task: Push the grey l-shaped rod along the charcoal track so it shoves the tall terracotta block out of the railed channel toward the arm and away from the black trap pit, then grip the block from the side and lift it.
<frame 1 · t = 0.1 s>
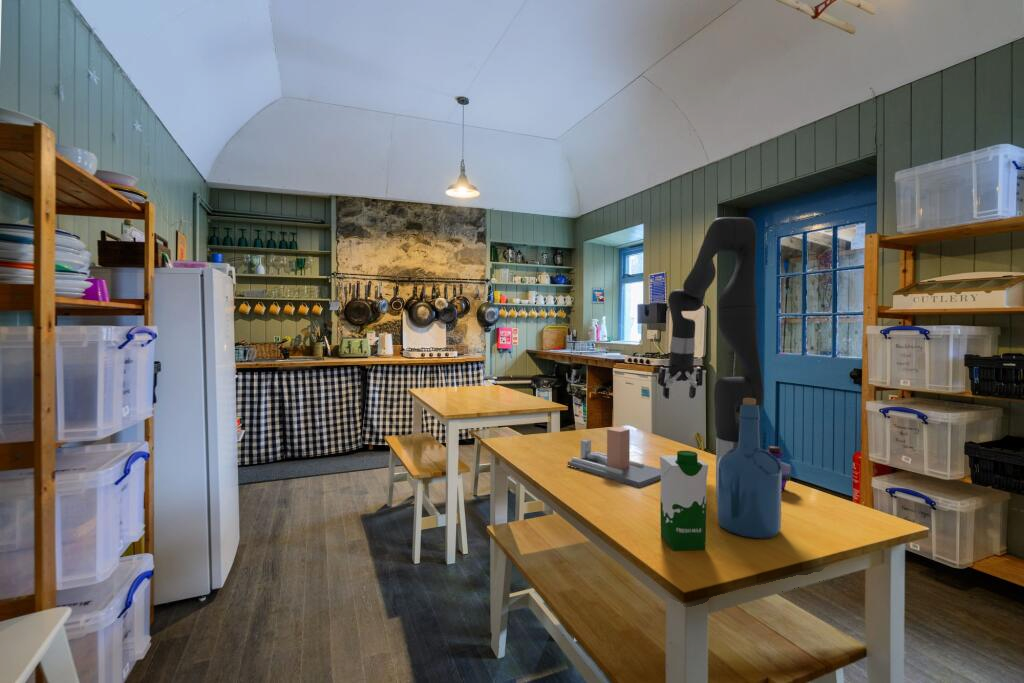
hand: (679, 397, 160), 22 cm above the table, tool pointing down, fingers open, 8 cm apart
grey l-shaped rod: (596, 451, 160), point 5 cm above the table, slide at 0.0 cm
block: (618, 466, 153), point 1 cm above the table, touching track
track: (616, 470, 154), on the table
potion bottle: (774, 489, 137), on the table
wine bottle: (748, 529, 110), on the table
milk carton: (682, 543, 103), on the table
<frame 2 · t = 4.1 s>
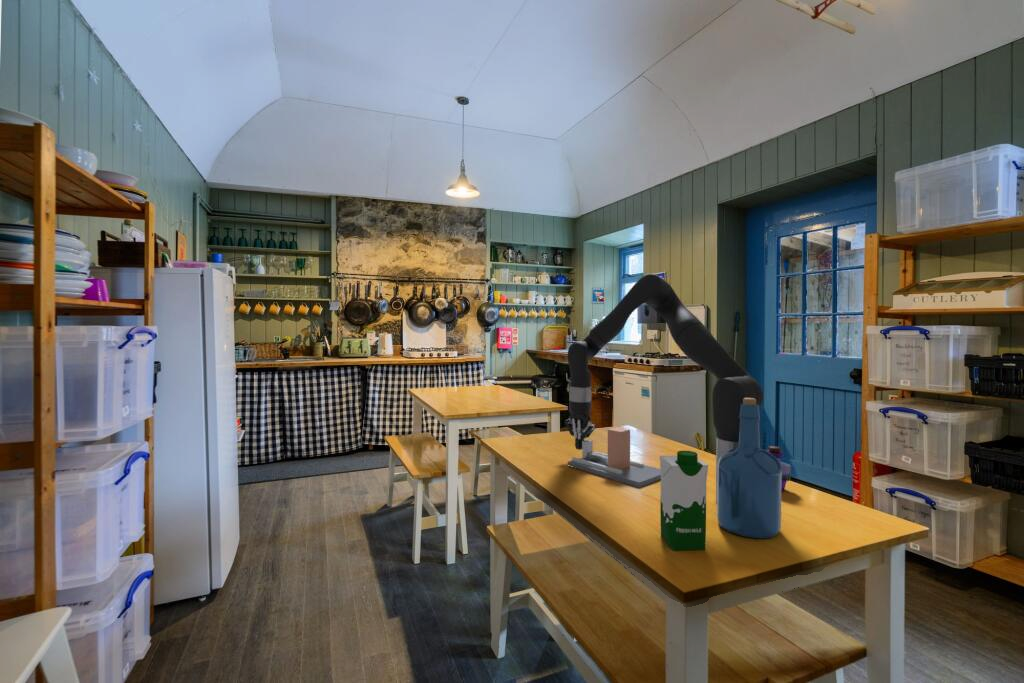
hand: (579, 448, 166), 4 cm above the table, tool pointing down, fingers closed
grey l-shaped rod: (598, 451, 159), point 5 cm above the table, slide at 0.7 cm, touching gripper
block: (618, 466, 153), point 2 cm above the table
everything else where it was.
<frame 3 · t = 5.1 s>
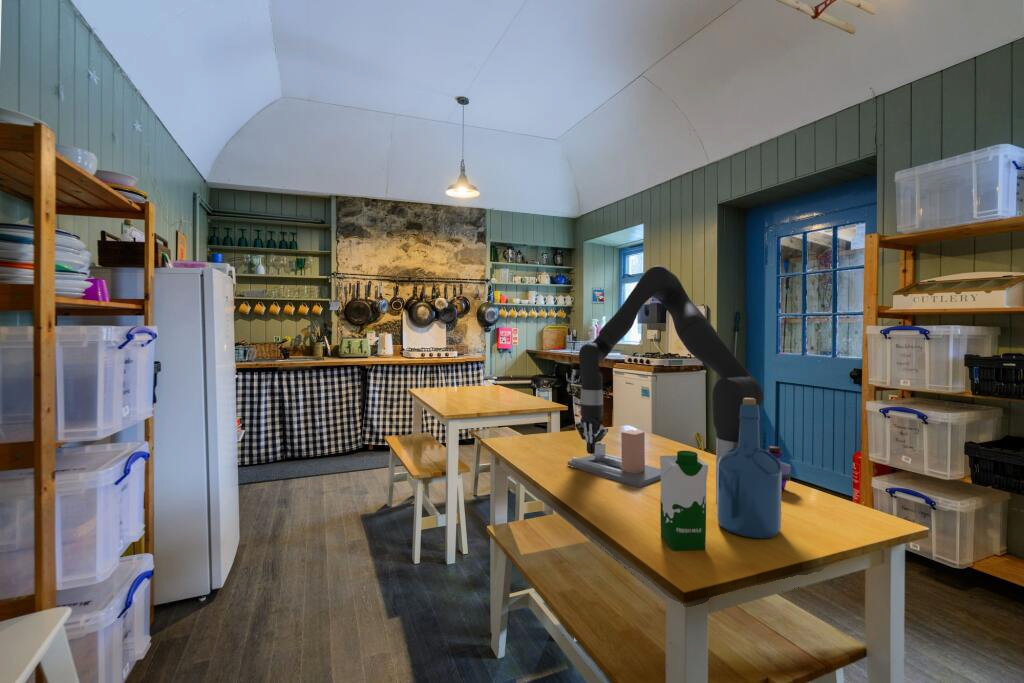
hand: (591, 453, 162), 4 cm above the table, tool pointing down, fingers closed
grey l-shaped rod: (611, 455, 155), point 5 cm above the table, slide at 6.2 cm, touching block, gripper
block: (633, 470, 149), point 2 cm above the table, touching grey l-shaped rod
everything else where it was.
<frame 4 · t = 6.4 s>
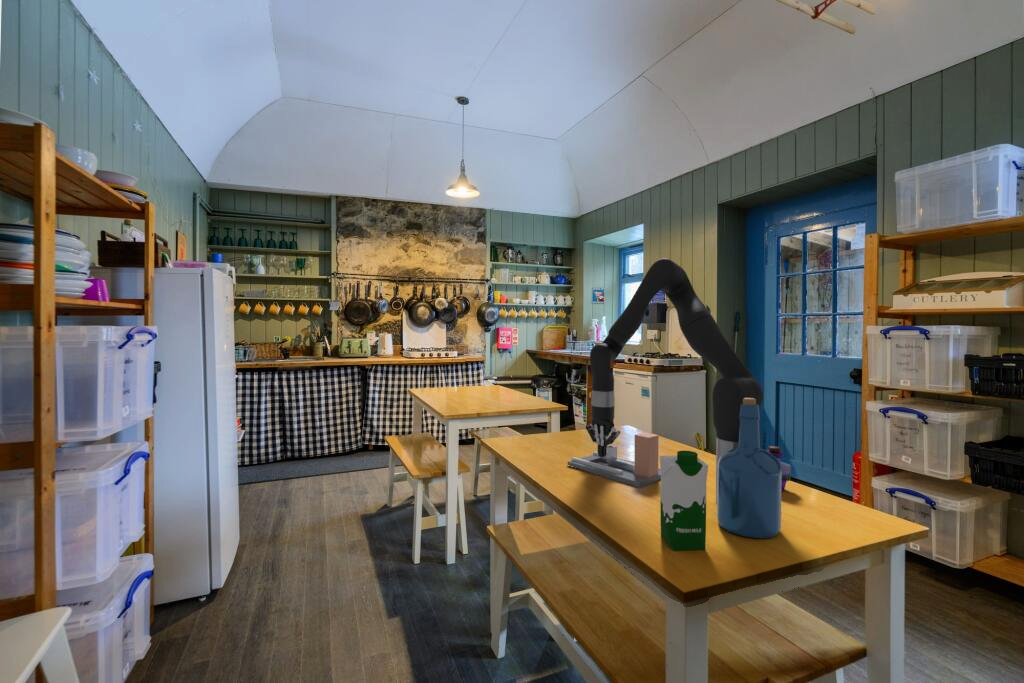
hand: (602, 456, 158), 4 cm above the table, tool pointing down, fingers closed
grey l-shaped rod: (623, 458, 152), point 5 cm above the table, slide at 10.9 cm, touching block, gripper
block: (646, 474, 145), point 1 cm above the table, touching grey l-shaped rod, track
everything else where it was.
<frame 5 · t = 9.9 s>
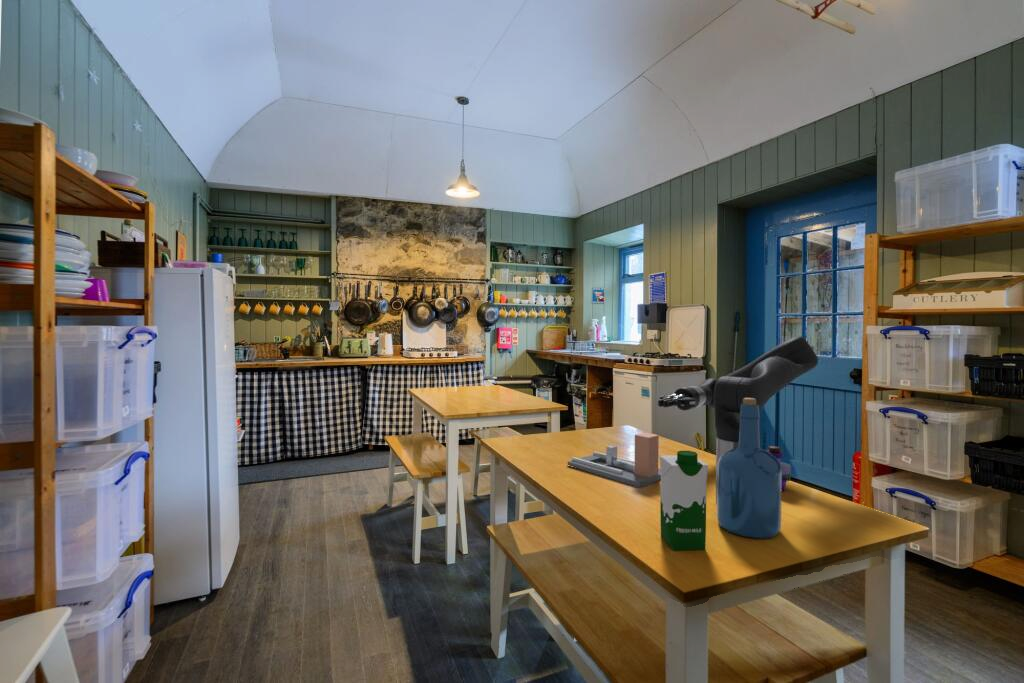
hand: (661, 403, 151), 22 cm above the table, tool horizontal, fingers closed
grey l-shaped rod: (623, 458, 152), point 5 cm above the table, slide at 11.0 cm, touching block
everything else where it was.
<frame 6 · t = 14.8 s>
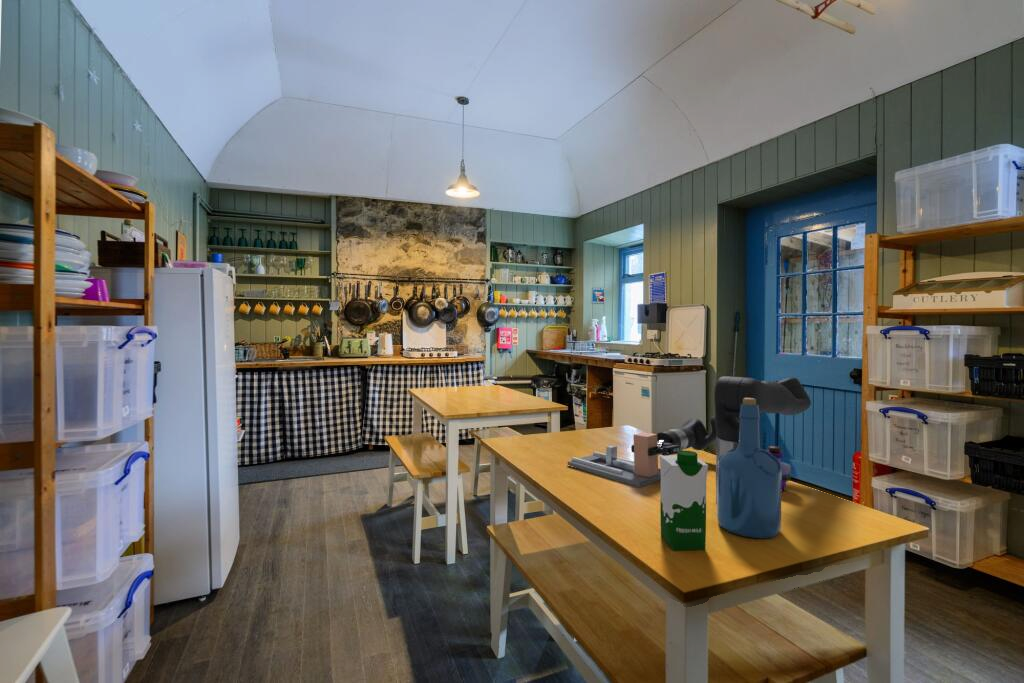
hand: (640, 450, 144), 9 cm above the table, tool horizontal, fingers closed on block, 5 cm apart
grey l-shaped rod: (623, 458, 152), point 5 cm above the table, slide at 10.9 cm
block: (646, 473, 145), point 2 cm above the table, touching gripper, track
everything else where it was.
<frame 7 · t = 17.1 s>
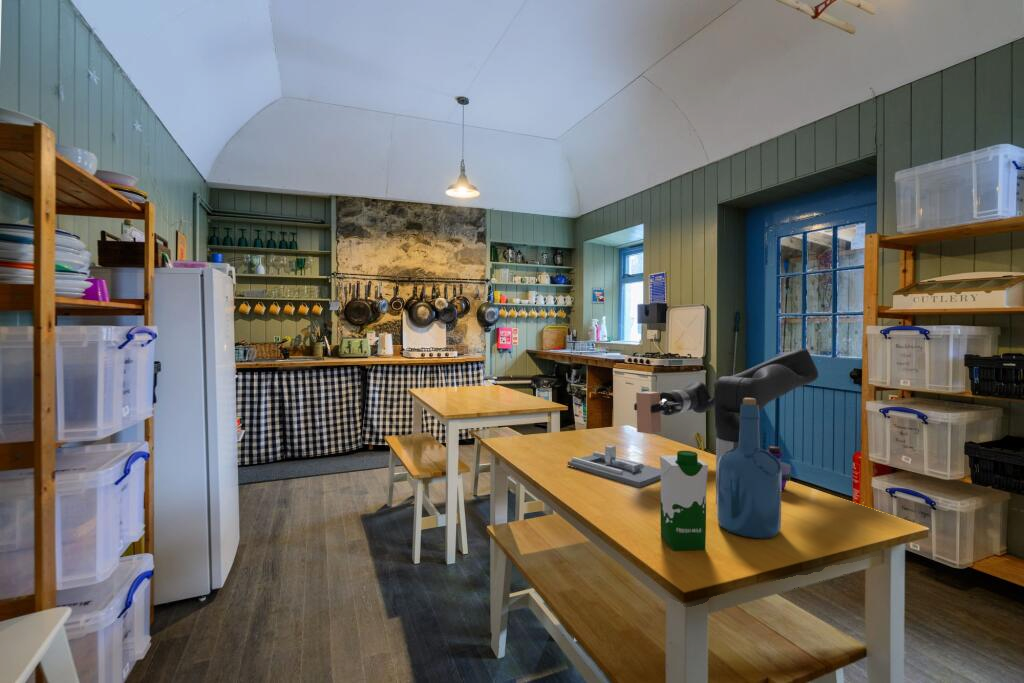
hand: (643, 408, 145), 22 cm above the table, tool horizontal, fingers closed on block, 5 cm apart
grey l-shaped rod: (622, 458, 152), point 5 cm above the table, slide at 10.5 cm
block: (649, 431, 146), point 14 cm above the table, touching gripper
everything else where it was.
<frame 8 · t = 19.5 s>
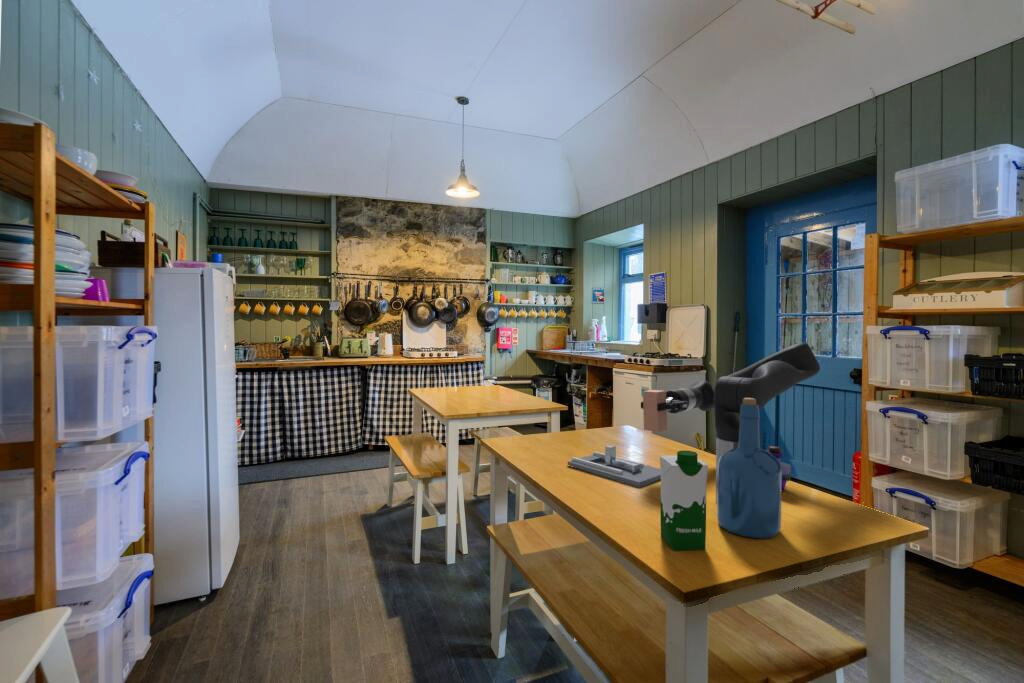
hand: (649, 406, 147), 22 cm above the table, tool horizontal, fingers closed on block, 5 cm apart
block: (655, 429, 148), point 14 cm above the table, touching gripper
everything else where it was.
at the end: grey l-shaped rod slide at 10.5 cm; the gripper is holding block; block point 14.4 cm above the table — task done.
